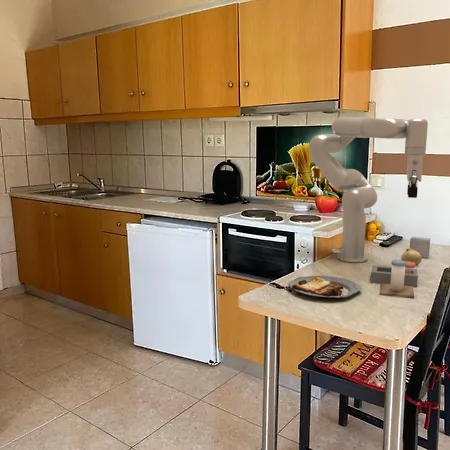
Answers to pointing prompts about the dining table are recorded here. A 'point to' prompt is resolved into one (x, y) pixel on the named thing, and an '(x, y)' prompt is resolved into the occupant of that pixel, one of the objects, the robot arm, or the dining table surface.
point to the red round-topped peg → (409, 266)
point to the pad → (386, 290)
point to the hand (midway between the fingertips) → (411, 196)
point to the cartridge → (397, 275)
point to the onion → (411, 256)
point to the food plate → (324, 286)
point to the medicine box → (420, 245)
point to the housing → (384, 276)
